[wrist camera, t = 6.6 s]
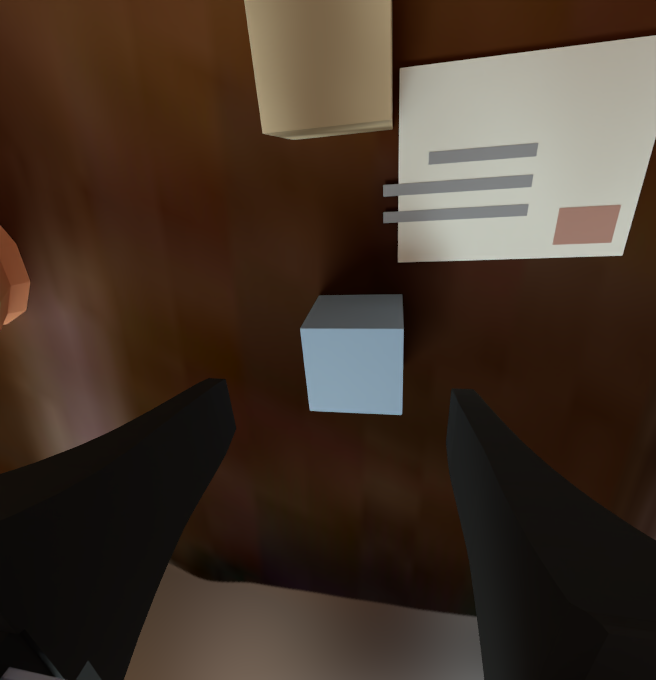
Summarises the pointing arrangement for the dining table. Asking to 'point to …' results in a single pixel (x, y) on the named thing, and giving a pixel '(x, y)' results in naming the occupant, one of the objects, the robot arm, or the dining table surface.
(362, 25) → the oak block
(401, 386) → the slate cube
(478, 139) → the letter
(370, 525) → the dining table surface
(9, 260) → the potted cactus
